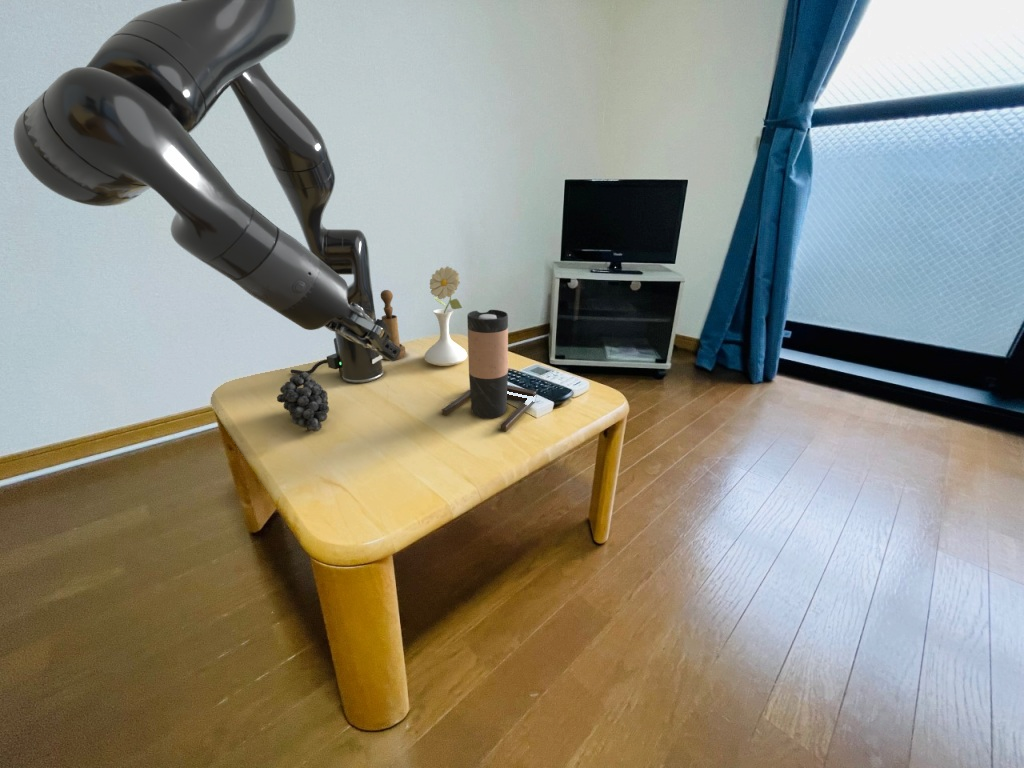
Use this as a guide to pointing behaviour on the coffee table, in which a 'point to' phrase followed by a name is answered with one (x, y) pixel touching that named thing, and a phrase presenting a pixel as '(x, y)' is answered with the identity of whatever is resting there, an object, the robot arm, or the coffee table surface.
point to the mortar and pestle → (391, 322)
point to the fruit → (305, 401)
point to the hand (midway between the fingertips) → (394, 354)
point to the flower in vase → (445, 319)
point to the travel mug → (488, 362)
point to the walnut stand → (520, 410)
